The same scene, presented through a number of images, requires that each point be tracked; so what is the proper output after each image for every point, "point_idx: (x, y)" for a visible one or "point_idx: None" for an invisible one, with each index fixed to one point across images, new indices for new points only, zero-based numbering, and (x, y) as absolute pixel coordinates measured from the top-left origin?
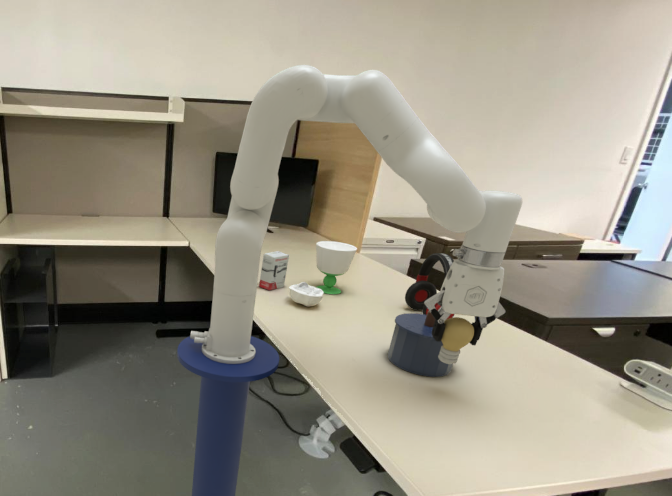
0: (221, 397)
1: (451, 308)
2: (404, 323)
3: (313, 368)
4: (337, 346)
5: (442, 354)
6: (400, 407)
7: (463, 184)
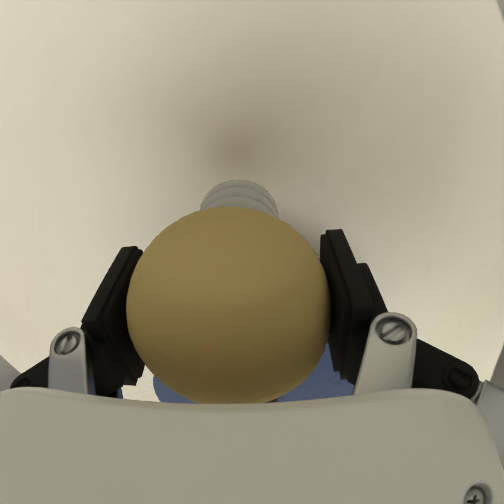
0: None
1: (438, 436)
2: (344, 389)
3: None
4: (432, 316)
5: (274, 209)
6: (387, 32)
7: None
